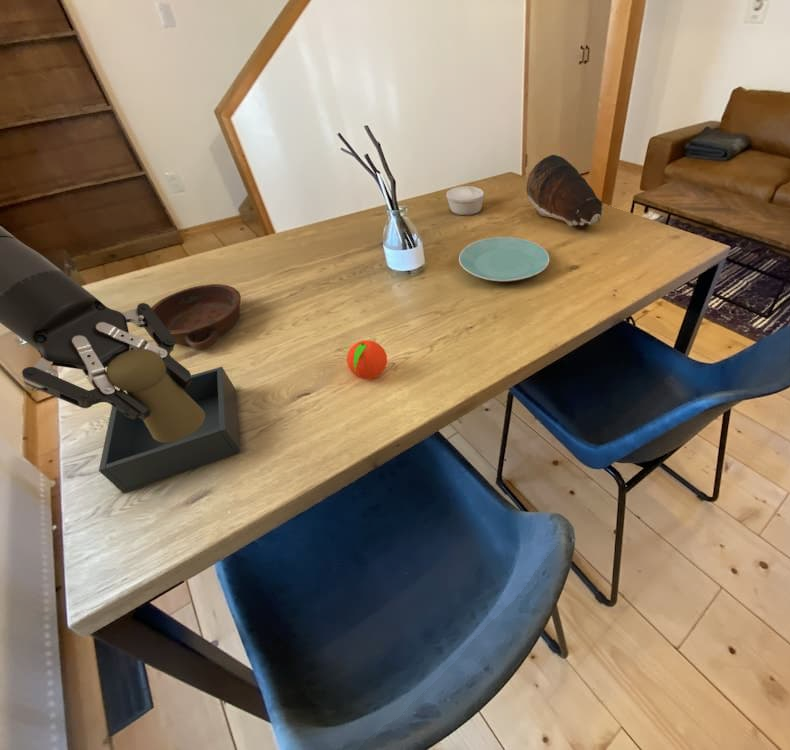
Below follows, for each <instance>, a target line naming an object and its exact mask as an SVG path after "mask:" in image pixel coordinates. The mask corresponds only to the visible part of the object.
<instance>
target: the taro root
mask: <svg viewBox="0 0 790 750" xmlns="http://www.w3.org/2000/svg"><path fill="white" fill-rule="evenodd" d="M526 179H527V180H526V187H525V188H526V189H525V190H526V191H525V192H526V197H527V200H528V201H529V202H530V203H531V205H532V206H533V207H534V208H535V209H536V211H537V212H538V214H540V216H543V217H547V218H552V219H556V220H557V221H558V220H559V221H561V222H565V223H566V224H567V225H568V227H573V226H577V225H578V226H587V225H591V226H595V225H597V224H599V223H600V221H601V219H602V210H603V205H604V203H605V202H604V201H602V200H600V199H599V198H598V197H597V195H596V192H595V190H594V189H593V188H592V186H590V185H589V183H588V181H587V180H586V178H584V177H583V175H581V174H580V173H579V170H577V168H575V166H573V164H572V163H570V162H569V161H568V160H567V159H565V158H564V157H562V156H560V155H556V154H549V155H547V156H546V157H543V158H542V159H540V160H539V161H538V162H536V163H535V165H534V166H533V167H532V168H531V170H530V172H529V173H528V176H527V178H526Z"/></svg>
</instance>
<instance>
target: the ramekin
mask: <svg viewBox="0 0 790 750" xmlns="http://www.w3.org/2000/svg"><path fill="white" fill-rule="evenodd" d="M484 192H485V191H484V190H483V189H481V188H479V187H476V186H469V185H466V186H462V185H461V186H456V187H453V188H451V189H449V190H447V192H446V194H445V195H446V199H447V201H448V205H449V209H450V211H451V212H452V213H454V214H455V215H458V216H472V215H476V214H479V212H480V211H481V210H482V209H483V202H484V197H485V193H484Z"/></svg>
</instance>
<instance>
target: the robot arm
mask: <svg viewBox="0 0 790 750" xmlns="http://www.w3.org/2000/svg"><path fill="white" fill-rule="evenodd" d="M151 307H152V306H150V305H149V304H148V303H145V302H140V303H138V304H137V307H136V308H133V309H129V310H126V311H123V312H121V311H119V310H115V309H112V308H110V307H108V306H106V305H105V304H104V303H102V301H101V300H99V299H98V298H97V297H96V296H94V295H93V294H92V293H91V292H89V291H88V290H87V289H85V288H84V287H83V286H82V285H80V284H79V283H78V282H76V280H74V279H73V278H71V277H70V276H69V275H68V274H66V273H65V272H64V271H63V270H62V269H60V268H59V267H57V266H56V265H55V264H54V263H53V262H51V261H50V260H49V259H48V258H46V257H45V256H43V254H41V253H39V252H38V251H36V250H35V249H33V248H31V247H30V246H28V245H26V244H25V243H23V242H22V241H20V240H19V239H18V238H17V237H15V236H14V235H13V234H12V233H10V232H9V231H8V230H6V229H5V227H3V226H2V225H0V324H1V325H2V326H4V327H5V328H7V330H9V331H10V332H12V333H13V334H14V335H16V336H18V337H19V338H20V339H21V340H23V341H24V342H26V343H27V344H28V345H30V346H31V347H33V348H34V349H36V350H37V352H38V353H39V354H40V359H39V360H37V362H36V363H35V364H34V365H33V366H28V367H25V368H24V369H23V370H21V374H22V379H23V383H24V384H25V385H26V386H28V387H31V388H33V389H35V390H38V391H41V392H43V393H46V394H48V395H50V396H53V397H55V398H57V399H60V400H62V401H64V402H67V403H69V404H72V405H74V406H77V407H79V408H81V409H88V408H91V407H92V406H94V405H96V404H97V405H98V404H101V403H106V404H109V405H111V407H112V406H113V407H115V408H116V409H118V410H119V411H120V412H122V413H123V414H125V415H126V416H127V417H129V418H131V419H136V418H138V417H139V418H140V419H142V420H144V419H146V418H147V417H148V416H149V415H150V413H151V412H150V411H149V409H147V408H146V407H145V406H143V405H142V404H141V403H139V402H138V401H137V400H135V399H134V398H132V397H131V396H130V395H128V394H127V392H126V391H123V390H121V389H118V388H116V386H114V385H113V384H112V383H111V382H110V381H109V378H108V376H107V374H106V371H107V366H108V364H109V363H110V362H111V361H112V360H113V359H114V358H115V357H117V356H118V355H120V354H122V353H124V352H127V351H130V350H134V349H148V350H151V351H153V352H155V353H157V354H158V355H159V356H160V357H161V358H162V359H163V361H164V363H165V366H166V373H167V374H168V375H169V376H170V377H171V378H172V379H173V380H174V381H175V382H176V383H177V384H178V385H180V386H181V387H183V388H186V387H187V386H189V385H190V384H191V382H192V380H191V378H190V376H191V375H192V374H191V372H190V370H188V369H187V368H186V367H185V366H184V365H182V364H181V363H179V362H178V361H177V360H176V359H175V358H174V357H172V355H171V353H172V352H173V350H174V348H175V345H176V344H177V343H176V339H175V338H174V337H173V335H172V334H171V333H170V331H169V330H168V329H167V328H166V326H165V325H164V324H163V323H162V321H161V320H160V319H159V317H158V316H157V315H156V314H155V312H154V311H153V310H152V309H151ZM128 323H131V324H133V325H135V326H136V327H137V328H144V330H145V331H146V332H147V333H148V335H149V336H150V338H151V339H152V340H153V341H154V343H155V344H156V345H155V344H153V343H150V342H149V341H147V340H146V339H144V338H142V337H140V336H138V335H135V334H133V333H130V332H129V326H128ZM53 367H60V368H69V369H75V370H81V372H82V373H83V375H84V376H85V378H86V379H87V381H88V383H89V384H90V385H91V386H92V387H93V389H90V390H89V389H85V388H83V387H82V386H79V385H76V384H74V383H72V382H69V381H67V380H65V379H63V378H60V377H59V373H58V371H57V370H56V369H54V368H53Z"/></svg>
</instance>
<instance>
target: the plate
mask: <svg viewBox="0 0 790 750" xmlns="http://www.w3.org/2000/svg"><path fill="white" fill-rule="evenodd" d="M458 262H459V263H458V264H459V265H460V267H461V268H462V269H463V270H464V271H465V272H467V273H468V274H470V275H472V276H474V277H476V278H479V279H483V280H484V281H485V280H486V281H489V282H502V283H503V282H505V283H506V282H516V281H521V280H526V279H529V278H532V277H535V276H536V275H539V274H540V273H542V272H543V271H545V270H546V269H547V267H549V264H550V254H549V253H548V251H547V250H546V249H545V248H544V247H542V245H540V244H538V243H536V242H533V241H531V240H528V239H524V238H520V237H519V238H518V237H509V236H507V237H506V236H496V237H495V236H494V237H488V238H482V239H479V240H477V241H474V242H471V243H470V244H468V245H466V247H464V248H463V249H462V251H461V252H460V253H459V255H458Z"/></svg>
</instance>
